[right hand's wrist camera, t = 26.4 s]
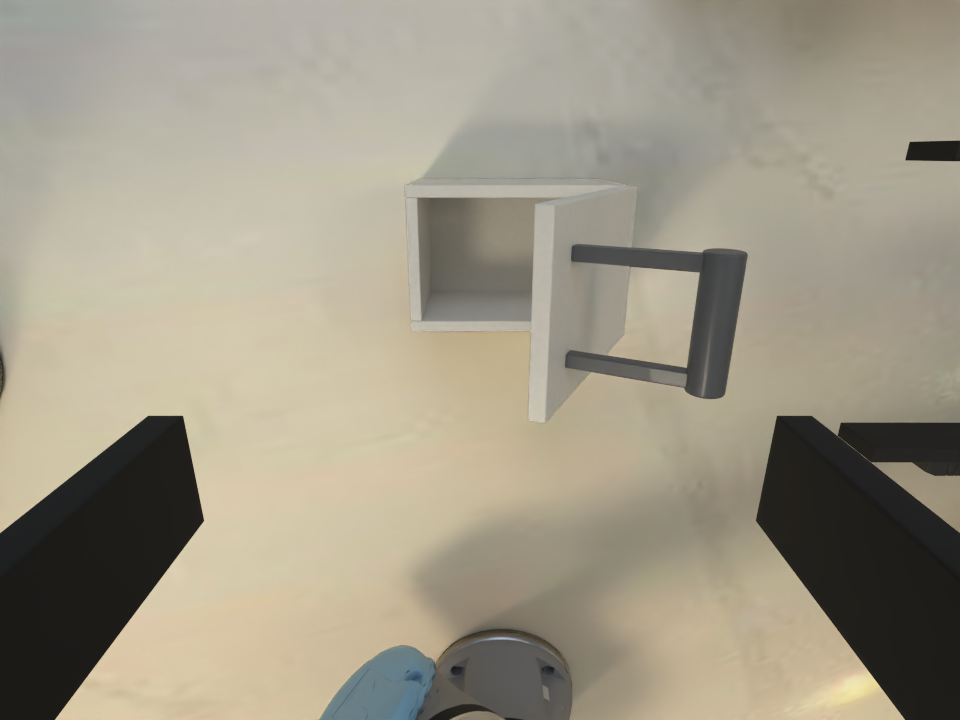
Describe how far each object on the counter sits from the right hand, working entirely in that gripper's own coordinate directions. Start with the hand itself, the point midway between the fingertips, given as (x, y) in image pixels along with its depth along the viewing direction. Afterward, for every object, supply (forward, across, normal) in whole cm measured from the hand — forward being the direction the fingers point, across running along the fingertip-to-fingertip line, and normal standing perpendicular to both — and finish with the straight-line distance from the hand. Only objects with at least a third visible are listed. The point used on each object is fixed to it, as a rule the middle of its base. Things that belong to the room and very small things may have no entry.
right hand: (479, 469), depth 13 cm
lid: (+19, -5, 0) cm, 19 cm away
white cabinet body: (+35, -2, 0) cm, 35 cm away
